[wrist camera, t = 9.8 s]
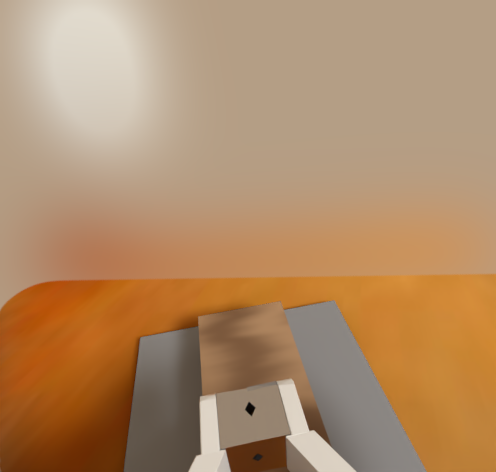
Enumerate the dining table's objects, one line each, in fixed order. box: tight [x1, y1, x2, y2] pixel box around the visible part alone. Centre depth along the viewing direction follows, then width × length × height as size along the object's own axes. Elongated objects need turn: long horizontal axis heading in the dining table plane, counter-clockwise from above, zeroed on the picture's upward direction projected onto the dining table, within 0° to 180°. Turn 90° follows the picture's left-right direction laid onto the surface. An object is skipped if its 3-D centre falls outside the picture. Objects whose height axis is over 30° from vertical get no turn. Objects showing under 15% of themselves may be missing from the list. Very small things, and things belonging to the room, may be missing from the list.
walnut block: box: [198, 301, 332, 472], centre depth 18 cm, size 6×3×14 cm
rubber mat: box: [124, 301, 427, 472], centre depth 20 cm, size 16×14×1 cm
